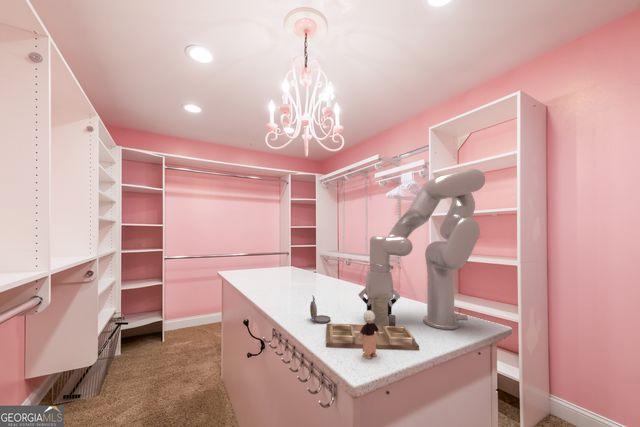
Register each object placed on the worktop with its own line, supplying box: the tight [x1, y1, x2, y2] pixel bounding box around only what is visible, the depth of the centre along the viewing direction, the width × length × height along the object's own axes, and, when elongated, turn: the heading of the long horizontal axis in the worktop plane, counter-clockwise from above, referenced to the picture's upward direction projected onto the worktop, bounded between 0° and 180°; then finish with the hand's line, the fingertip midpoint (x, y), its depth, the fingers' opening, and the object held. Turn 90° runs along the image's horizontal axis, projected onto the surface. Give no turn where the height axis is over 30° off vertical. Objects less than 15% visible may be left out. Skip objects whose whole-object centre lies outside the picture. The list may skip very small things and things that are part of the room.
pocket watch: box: [309, 294, 331, 324], centre depth 102 cm, size 8×8×10 cm
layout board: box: [325, 314, 420, 351], centre depth 88 cm, size 28×16×6 cm, turn 88°
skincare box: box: [371, 293, 389, 325], centre depth 101 cm, size 6×4×12 cm
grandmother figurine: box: [359, 310, 380, 360], centre depth 75 cm, size 8×4×13 cm, turn 133°
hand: (379, 315), depth 101 cm, fingers closed on skincare box, 6 cm apart
